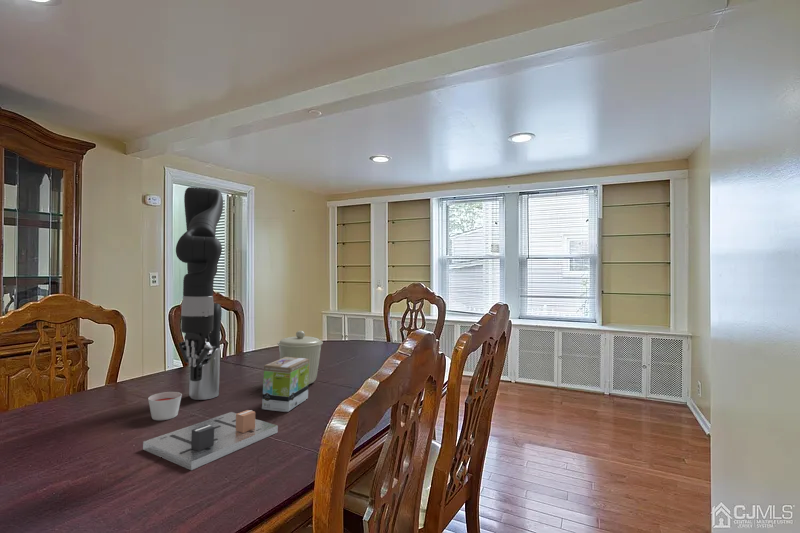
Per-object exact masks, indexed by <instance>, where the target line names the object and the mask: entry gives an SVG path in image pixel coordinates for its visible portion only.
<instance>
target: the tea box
mask: <svg viewBox="0 0 800 533" xmlns="http://www.w3.org/2000/svg"><path fill="white" fill-rule="evenodd" d="M309 385H310V384H309V359H306V358H294V357H284V358H281V359H280V358H279V359H276V360H275V361H272V362H269V363H267V364H263V380H262V399H261V400H262V402H261V410H266V411H273V412H275V411H276V412H284V413H289V412H290V411H291V410H293V409H294V408H295V407H297V406H298V405H300V404H302V403H303V402H306V399H307V400H308V399H309Z"/></svg>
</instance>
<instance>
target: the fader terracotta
mask: <svg viewBox="0 0 800 533" xmlns="http://www.w3.org/2000/svg"><path fill="white" fill-rule="evenodd" d="M255 419H256V411H253V410H252V409H251V410H249V409H246V410H244V411H241V412H238V413H237V414H236V431H238V432H241V433H244V432H247V431H249V430H252V429H254V428H255Z"/></svg>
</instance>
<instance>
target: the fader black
mask: <svg viewBox="0 0 800 533" xmlns="http://www.w3.org/2000/svg"><path fill="white" fill-rule="evenodd" d="M213 445H214V427H212V426H211V425H204V426H201V427H198V428H196V429H193V430H192V438H191V448H192V449H194V450H197V451H201V450H203V449H206V448H208V447H211V446H213Z"/></svg>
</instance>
